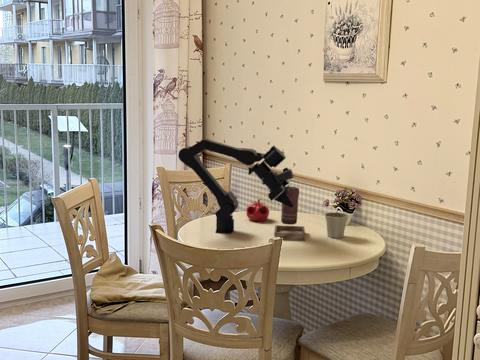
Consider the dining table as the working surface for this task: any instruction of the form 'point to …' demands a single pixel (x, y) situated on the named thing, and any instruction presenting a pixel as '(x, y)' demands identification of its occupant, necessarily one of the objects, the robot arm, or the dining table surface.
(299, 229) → the tray
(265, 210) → the pomegranate
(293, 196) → the can
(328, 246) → the dining table surface
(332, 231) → the flower pot
